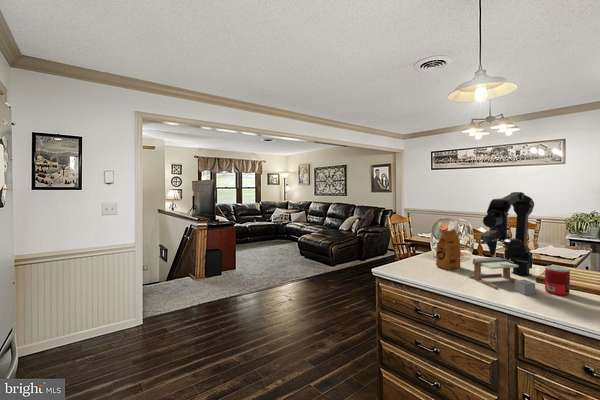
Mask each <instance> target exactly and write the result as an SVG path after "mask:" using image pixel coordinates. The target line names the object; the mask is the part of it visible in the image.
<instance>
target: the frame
mask: <svg viewBox="0 0 600 400" xmlns="http://www.w3.org/2000/svg"><path fill="white" fill-rule="evenodd" d="M504 259H505V261H506V262H509V263H511V261H510V259H509V260H507V259H506V258H504ZM473 265H474V266H473V272H474V274H472V275H469V278H470V279H473V280H474V281H476V282H479V283H481V284H483V285H485V286H487V287H490V288H492V289H494V290H498V289H499V288H498V287H499V286H498V285H496V284H493V283H491V282H489V281H486V280H484V279H486V278H497V277H498V278H499V277H502V278H503V279H505V280H508V281H511V282H514V283H515V280H518V279H517V278H513V277H511V268H502V273H489V274H488V273H487V274H482V266H481V262H479V261H474V264H473ZM483 278H484V279H483Z"/></svg>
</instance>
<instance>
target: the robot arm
mask: <svg viewBox="0 0 600 400" xmlns="http://www.w3.org/2000/svg"><path fill="white" fill-rule="evenodd" d="M512 207H513V211H514V213H515V215H516V222H515V224H516V225H515V238H510V237H511V236H509V235H508V231H510V230H511V229H510V227H508V216H509V215H510V214H509V211H510V210H511V208H512ZM534 208H535V202H534V200H533V198H531V197H530V196H529V195H526V194H525V193H524V192H522V191H514V192H513V191H512V192H511V193H510V194H508V195H506V196H504V197H502V198H493V199H492V200H491V201H489V205H488V207H487V210H486V215H485V216H483V219H482V223H483V225H484V226H485V227H487V228H489V230H488V231H485V232H483V233H482V232H481V234H480V240H481V241H482V242H483V243H484V244H485V245H487V248H488V249H489V253H490V255H491V256H494V255H495V254H496V249H497V245H498V242H500V243H503V247H504V249H505V257H506V258H505V259H507V260H510V263H513V264H515V265H519V267H514V268H512V271H510V274H514V275H517V276H520V277H527V276H533V274H532V273H530V266H531V265H533V264H534V258H533V256H532V254H531V249H530V247H529V246H528V245H527V238H528V227H529V226H528V224H529V217H530V216H531V214H532V212H533V210H534Z"/></svg>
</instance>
